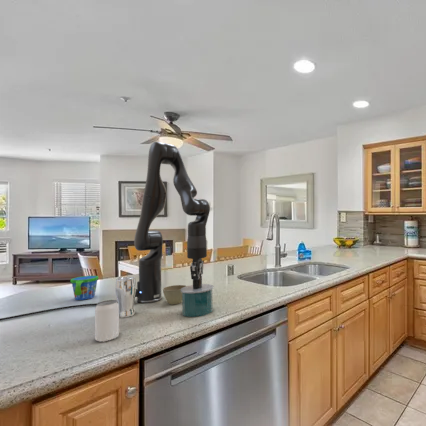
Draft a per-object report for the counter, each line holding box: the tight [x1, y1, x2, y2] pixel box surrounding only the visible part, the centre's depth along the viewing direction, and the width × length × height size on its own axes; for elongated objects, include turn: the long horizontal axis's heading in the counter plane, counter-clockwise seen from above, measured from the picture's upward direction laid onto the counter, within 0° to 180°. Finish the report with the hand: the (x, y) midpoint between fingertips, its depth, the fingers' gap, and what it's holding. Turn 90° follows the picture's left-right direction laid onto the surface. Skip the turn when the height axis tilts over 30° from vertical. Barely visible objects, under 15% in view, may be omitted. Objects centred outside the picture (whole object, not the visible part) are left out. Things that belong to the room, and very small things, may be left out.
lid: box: [181, 274, 215, 293], centre depth 123 cm, size 13×13×6 cm
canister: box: [181, 289, 214, 318], centre depth 123 cm, size 12×12×10 cm
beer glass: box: [115, 276, 137, 319], centre depth 120 cm, size 7×7×15 cm
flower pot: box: [162, 284, 187, 305], centre depth 135 cm, size 10×10×7 cm
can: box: [94, 299, 120, 343], centre depth 98 cm, size 6×6×12 cm
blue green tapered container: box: [69, 275, 100, 301], centre depth 144 cm, size 16×10×10 cm
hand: (197, 287), depth 123 cm, fingers closed on lid, 3 cm apart
